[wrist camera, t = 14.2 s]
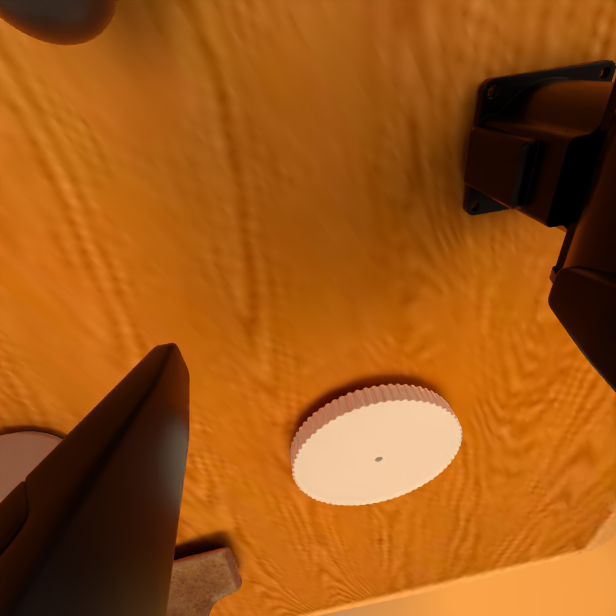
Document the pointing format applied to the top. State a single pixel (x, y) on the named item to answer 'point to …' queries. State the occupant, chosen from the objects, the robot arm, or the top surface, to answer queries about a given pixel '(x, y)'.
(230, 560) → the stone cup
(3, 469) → the beverage can
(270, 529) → the top surface
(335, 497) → the plastic lid
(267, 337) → the top surface
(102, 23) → the bin
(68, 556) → the robot arm
